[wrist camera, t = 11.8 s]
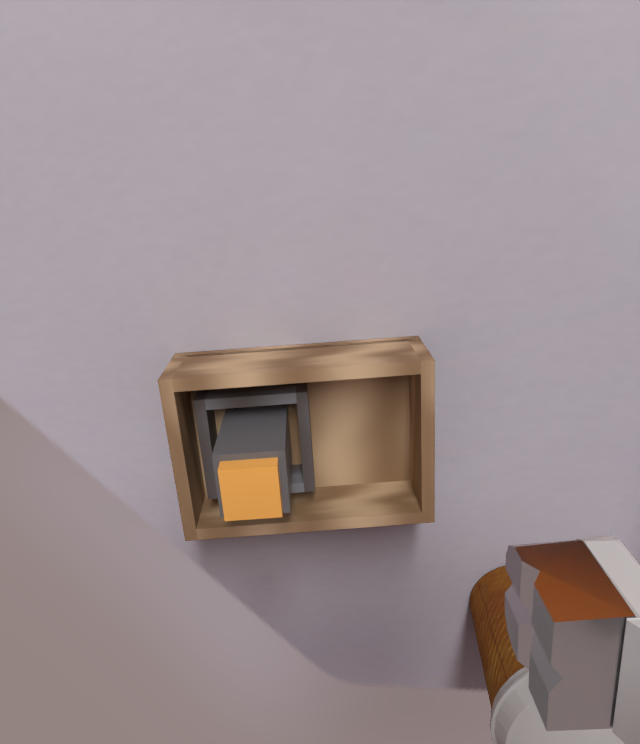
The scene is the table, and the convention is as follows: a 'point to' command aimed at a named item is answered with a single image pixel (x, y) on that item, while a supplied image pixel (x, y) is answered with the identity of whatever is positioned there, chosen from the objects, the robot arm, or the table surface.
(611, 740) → the disposable coffee cup
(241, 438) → the block
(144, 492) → the table surface
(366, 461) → the box
